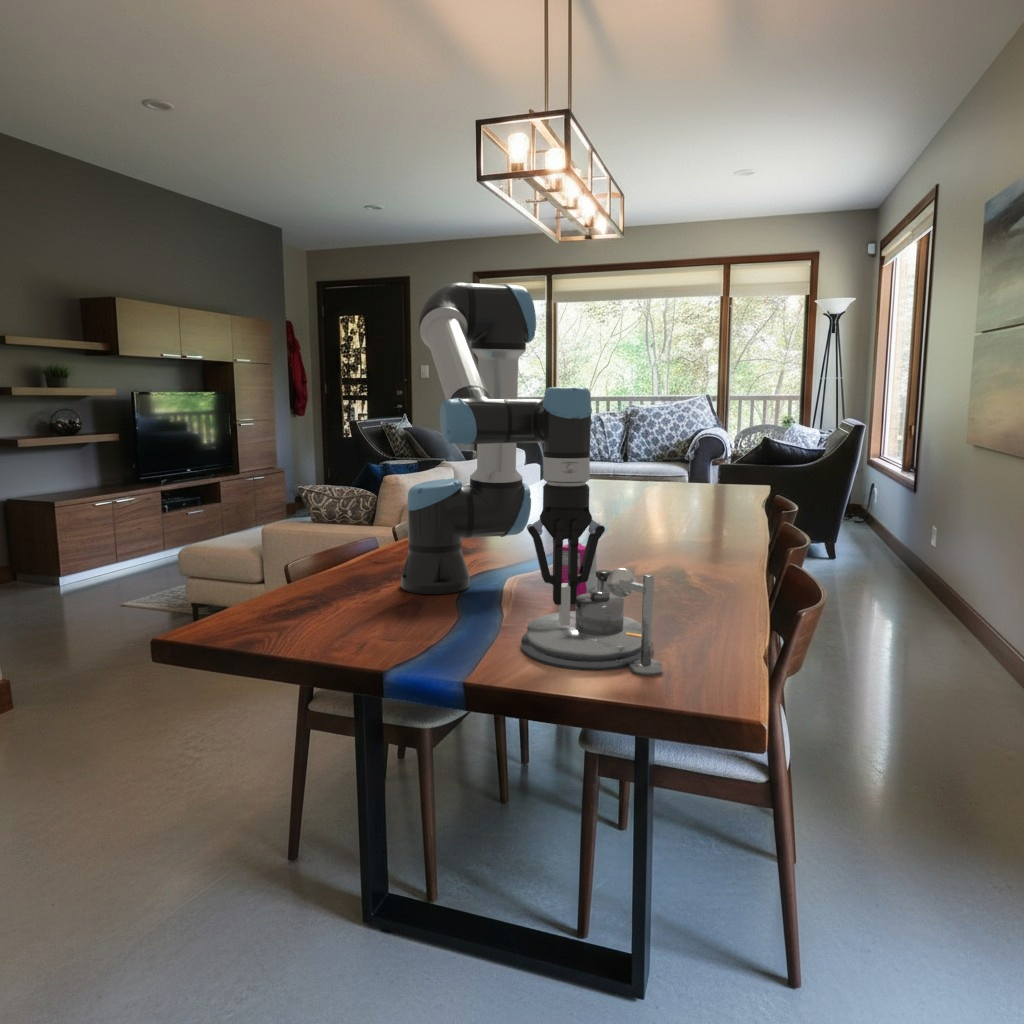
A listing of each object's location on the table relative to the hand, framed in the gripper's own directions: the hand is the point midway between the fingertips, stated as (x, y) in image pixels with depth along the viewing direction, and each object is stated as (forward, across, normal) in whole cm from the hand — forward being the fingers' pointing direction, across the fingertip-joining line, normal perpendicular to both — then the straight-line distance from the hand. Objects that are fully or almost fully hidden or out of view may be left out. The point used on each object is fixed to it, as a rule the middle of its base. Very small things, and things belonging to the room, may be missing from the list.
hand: (564, 622), depth 126 cm
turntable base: (+4, +4, 0) cm, 6 cm away
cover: (+1, +6, 0) cm, 6 cm away
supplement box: (+5, +7, +29) cm, 31 cm away
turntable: (+3, +4, 0) cm, 5 cm away
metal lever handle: (+4, +9, -10) cm, 14 cm away
